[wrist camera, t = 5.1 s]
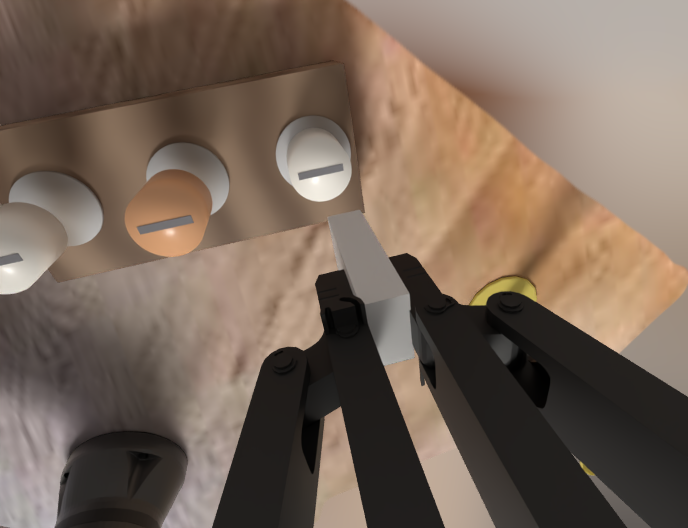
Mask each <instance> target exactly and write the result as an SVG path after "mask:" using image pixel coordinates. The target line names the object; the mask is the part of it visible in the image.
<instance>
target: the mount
mask: <svg viewBox="0 0 688 528" xmlns="http://www.w3.org/2000/svg"><path fill="white" fill-rule="evenodd" d="M309 128H320V129H323V130H326V131H328V132H329V133H331V134H332V135H333V136H334V137H335V138H336V139H337V141H338V142H339V143H340V145H341V146H342V147H343V149H344V150H345V151H346V153H347V154H348V156H349V159H350V161H351V167H352V173H351V178H350V181H349V183H348V185H347V187H346V188H345V190H344V191H343V192H342V193H341V194H340V195H338V196H337V197H335V198H333V199H331V200H328V201H322V202H318V201H312V200H309V199H306V198H304V197H303V196H301V195H300V194H299V193H298V192H297V191H296V190H295V188H294V187H293V185H292V183H291V180H290V175H289V170H288V165H287V159H286V154H287V148H288V145H289V143H290V141H291V140H292V139H293V137H294V136H295V135H296V134H298V133H299V132H301V131H303V130H305V129H309ZM168 169H179V170H184V171H187V172H189V173H191V174H193V175H195V176H197V177H198V178H199V179H201V180H202V181H203V182H204V184H205V185H206V186H207V188H208V189H209V191H210V193H211V196H212V201H213V206H212V211H211V214H210V217H209V220H208V223H207V227H206V230H205V233H204V236H203V238H202V241H201V242H200V244H199V245H198V246H197V247H196V248H195V249H194V250H192V251H191V252H195V251H199V250H204V249H208V248H212V247H217V246H221V245H226V244H230V243H234V242H239V241H243V240H248V239H252V238H256V237H261V236H265V235H269V234H274V233H278V232H283V231H287V230H291V229H296V228H300V227H305V226H309V225H313V224H318V223H322V222H327V221H328V218H327V217H329V216H334V215H338V214H342V213H347V212H351V211H356V210H361V212H362V213H365V210H364V203H363V196H362V189H361V182H360V175H359V167H358V160H357V153H356V146H355V139H354V132H353V125H352V118H351V111H350V104H349V96H348V89H347V82H346V75H345V68H344V63H341V62H337V61H329V62H324V63H319V64H313V65H308V66H303V67H298V68H293V69H288V70H283V71H278V72H273V73H268V74H262V75H257V76H252V77H247V78H242V79H237V80H232V81H227V82H222V83H217V84H211V85H206V86H201V87H196V88H191V89H186V90H181V91H176V92H171V93H165V94H160V95H155V96H150V97H145V98H140V99H135V100H130V101H125V102H120V103H114V104H109V105H104V106H99V107H94V108H89V109H84V110H79V111H74V112H68V113H63V114H58V115H53V116H48V117H43V118H38V119H33V120H28V121H23V122H17V123H12V124H7V125H2V126H0V203H1V204H2V205H3V204H7V203H12V202H24V203H29V204H33V205H36V206H39V207H41V208H43V209H45V210H47V211H48V212H50V213H51V214H53V215H54V216H55V217H56V218H57V219H58V220H59V221H60V222H61V223H62V225H63V226H64V228H65V230H66V232H67V236H68V245H67V248H66V250H65V251H64V252H63V254H62V255H61V256H60V257H59V258H58V259H57V260H56V261H55V262H54V263H53V264H52V265H51V266H50V267H49V268H48V270H49V271H50V273H51V274H52V276H53V277H54V278H55V280H56V281H57V283H59V282H63V281H67V280H72V279H76V278H81V277H85V276H89V275H94V274H98V273H103V272H107V271H111V270H116V269H120V268H125V267H129V266H133V265H138V264H142V263H147V262H151V261H155V260H160V259H164V258H168V257H166V256H160V255H156V254H153V253H151V252H149V251H147V250H145V249H143V248H142V247H140V246H139V245H138V244H137V243H136V242H135V241H134V240H133V239H132V238H131V236H130V234H129V233H128V231H127V228H126V225H125V211H126V208H127V206H128V204H129V203H130V201H131V200H132V199H133V198H134V197H135V196H136V194H137V193H138V192H139V191H140V190H141V189H142V187H143V186H144V185H145V184H146V183H147V182H148V180H149V179H150V178H151V177H152V176H153V175H155V174H156V173H158V172H160V171H163V170H168ZM189 253H190V252H189Z"/></svg>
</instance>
